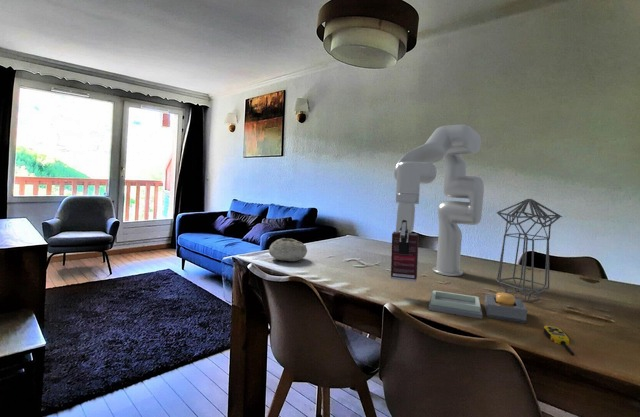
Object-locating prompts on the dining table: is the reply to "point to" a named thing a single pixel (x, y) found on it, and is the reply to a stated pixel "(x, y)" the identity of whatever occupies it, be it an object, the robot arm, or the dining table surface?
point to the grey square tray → (455, 304)
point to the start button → (505, 298)
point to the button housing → (505, 310)
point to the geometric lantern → (537, 209)
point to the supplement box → (404, 258)
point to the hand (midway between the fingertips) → (404, 251)
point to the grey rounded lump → (288, 250)
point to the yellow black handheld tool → (557, 336)
